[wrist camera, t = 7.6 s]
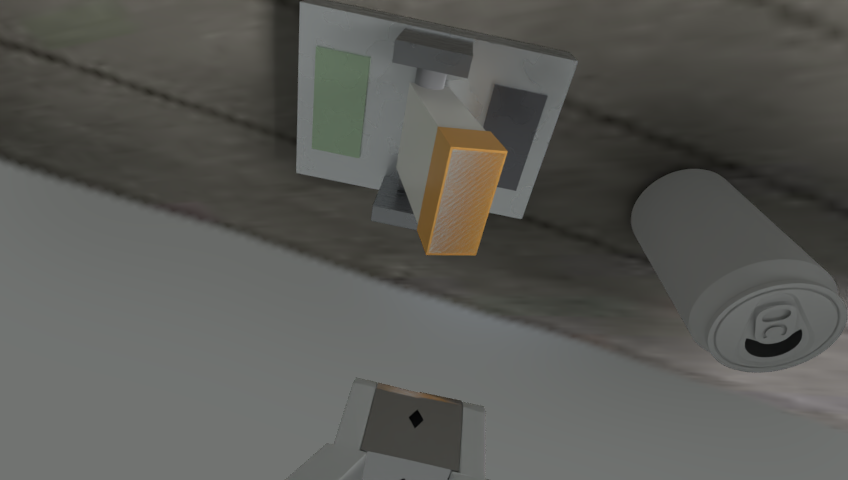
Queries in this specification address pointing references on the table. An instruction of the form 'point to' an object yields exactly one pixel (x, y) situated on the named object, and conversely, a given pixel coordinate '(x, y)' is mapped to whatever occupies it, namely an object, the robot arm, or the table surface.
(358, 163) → the breaker panel
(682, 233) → the beverage can
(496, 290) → the table surface
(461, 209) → the breaker lever
